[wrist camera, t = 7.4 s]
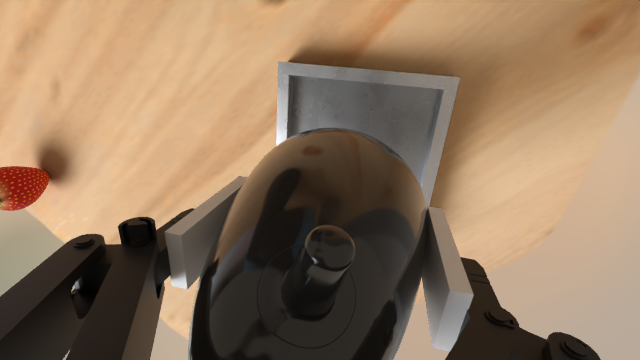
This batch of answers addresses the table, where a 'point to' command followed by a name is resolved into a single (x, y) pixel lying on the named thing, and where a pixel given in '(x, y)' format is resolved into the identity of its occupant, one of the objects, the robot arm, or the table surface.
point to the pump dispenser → (314, 255)
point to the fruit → (21, 186)
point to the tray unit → (371, 109)
